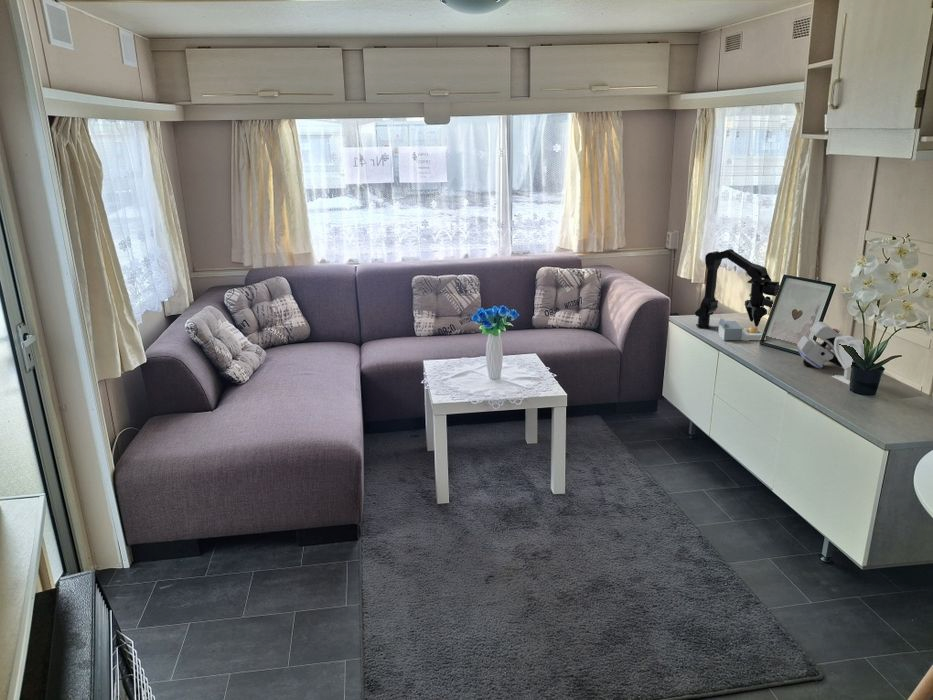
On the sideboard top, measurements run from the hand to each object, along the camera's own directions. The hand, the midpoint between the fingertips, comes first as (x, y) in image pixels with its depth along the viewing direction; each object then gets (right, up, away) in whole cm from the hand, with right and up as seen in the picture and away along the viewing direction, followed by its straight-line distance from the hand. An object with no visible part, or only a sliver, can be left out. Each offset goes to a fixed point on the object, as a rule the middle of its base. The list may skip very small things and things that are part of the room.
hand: (754, 323), depth 350 cm
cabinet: (-11, -6, +3) cm, 13 cm away
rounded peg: (0, -7, +2) cm, 7 cm away
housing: (-5, -7, +3) cm, 9 cm away
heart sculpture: (+14, -25, -58) cm, 65 cm away
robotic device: (+13, -20, -41) cm, 47 cm away
